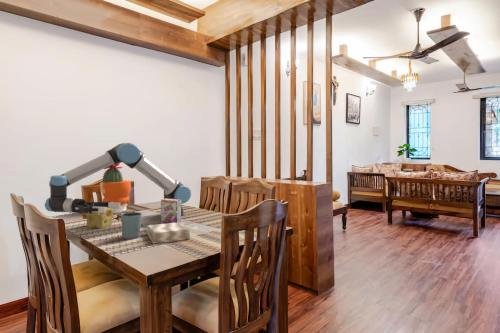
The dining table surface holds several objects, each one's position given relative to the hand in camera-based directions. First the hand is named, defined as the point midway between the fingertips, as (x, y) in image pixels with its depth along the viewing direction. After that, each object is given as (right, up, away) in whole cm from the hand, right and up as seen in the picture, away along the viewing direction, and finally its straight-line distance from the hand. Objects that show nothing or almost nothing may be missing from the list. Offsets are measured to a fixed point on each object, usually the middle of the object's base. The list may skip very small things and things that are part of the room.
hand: (112, 207), depth 161 cm
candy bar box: (+25, -15, +20) cm, 35 cm away
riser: (+29, -15, +1) cm, 33 cm away
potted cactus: (-27, -11, +66) cm, 72 cm away
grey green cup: (+10, -15, 0) cm, 18 cm away
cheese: (-17, -14, +22) cm, 31 cm away
